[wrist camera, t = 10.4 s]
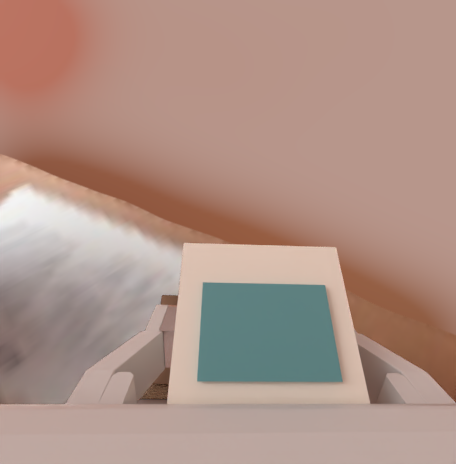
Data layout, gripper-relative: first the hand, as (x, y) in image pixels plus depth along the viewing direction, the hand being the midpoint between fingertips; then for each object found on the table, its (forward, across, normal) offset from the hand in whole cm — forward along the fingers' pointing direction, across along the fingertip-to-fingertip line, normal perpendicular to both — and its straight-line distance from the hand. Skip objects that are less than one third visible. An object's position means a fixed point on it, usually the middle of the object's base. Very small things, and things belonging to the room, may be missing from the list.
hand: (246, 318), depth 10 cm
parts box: (+4, 0, +5) cm, 6 cm away
